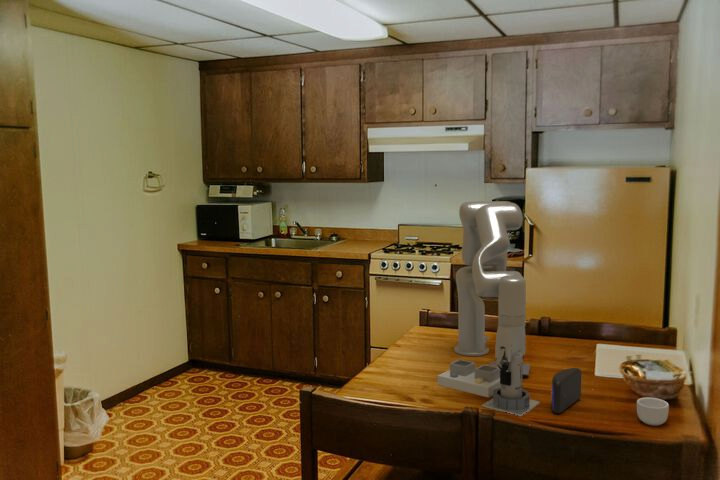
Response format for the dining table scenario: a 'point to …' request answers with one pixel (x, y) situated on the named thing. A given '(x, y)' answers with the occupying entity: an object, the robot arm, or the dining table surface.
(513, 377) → the energy drink can
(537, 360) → the dining table surface
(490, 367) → the tagged breaker
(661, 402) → the teacup
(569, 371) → the leaning round-cornered charcoal block
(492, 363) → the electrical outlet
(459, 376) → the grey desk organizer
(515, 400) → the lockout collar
